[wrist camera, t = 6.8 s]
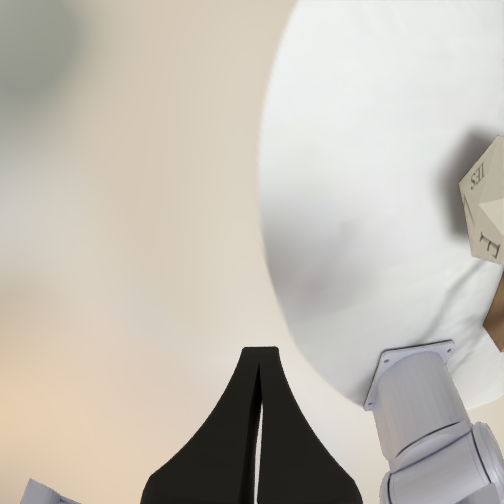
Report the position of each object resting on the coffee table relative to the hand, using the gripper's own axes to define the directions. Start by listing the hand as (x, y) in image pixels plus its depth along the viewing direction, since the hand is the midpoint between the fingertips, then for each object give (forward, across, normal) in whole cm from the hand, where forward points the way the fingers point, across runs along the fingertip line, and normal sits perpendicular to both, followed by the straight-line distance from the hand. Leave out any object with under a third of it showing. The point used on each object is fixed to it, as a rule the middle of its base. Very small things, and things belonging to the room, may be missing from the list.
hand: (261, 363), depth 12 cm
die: (+10, -17, -5) cm, 20 cm away
